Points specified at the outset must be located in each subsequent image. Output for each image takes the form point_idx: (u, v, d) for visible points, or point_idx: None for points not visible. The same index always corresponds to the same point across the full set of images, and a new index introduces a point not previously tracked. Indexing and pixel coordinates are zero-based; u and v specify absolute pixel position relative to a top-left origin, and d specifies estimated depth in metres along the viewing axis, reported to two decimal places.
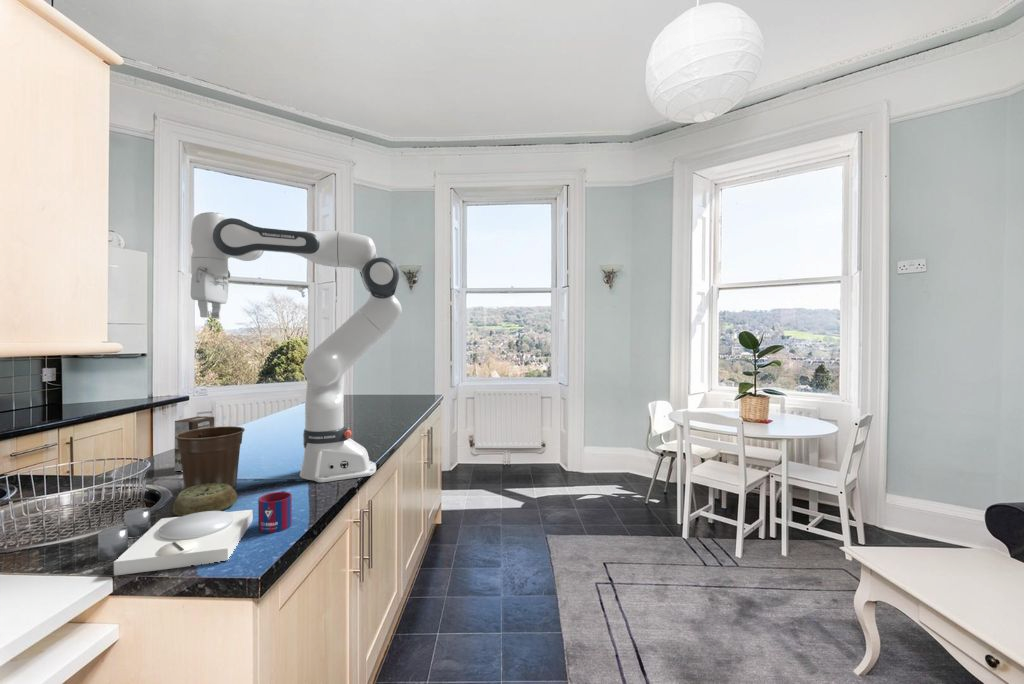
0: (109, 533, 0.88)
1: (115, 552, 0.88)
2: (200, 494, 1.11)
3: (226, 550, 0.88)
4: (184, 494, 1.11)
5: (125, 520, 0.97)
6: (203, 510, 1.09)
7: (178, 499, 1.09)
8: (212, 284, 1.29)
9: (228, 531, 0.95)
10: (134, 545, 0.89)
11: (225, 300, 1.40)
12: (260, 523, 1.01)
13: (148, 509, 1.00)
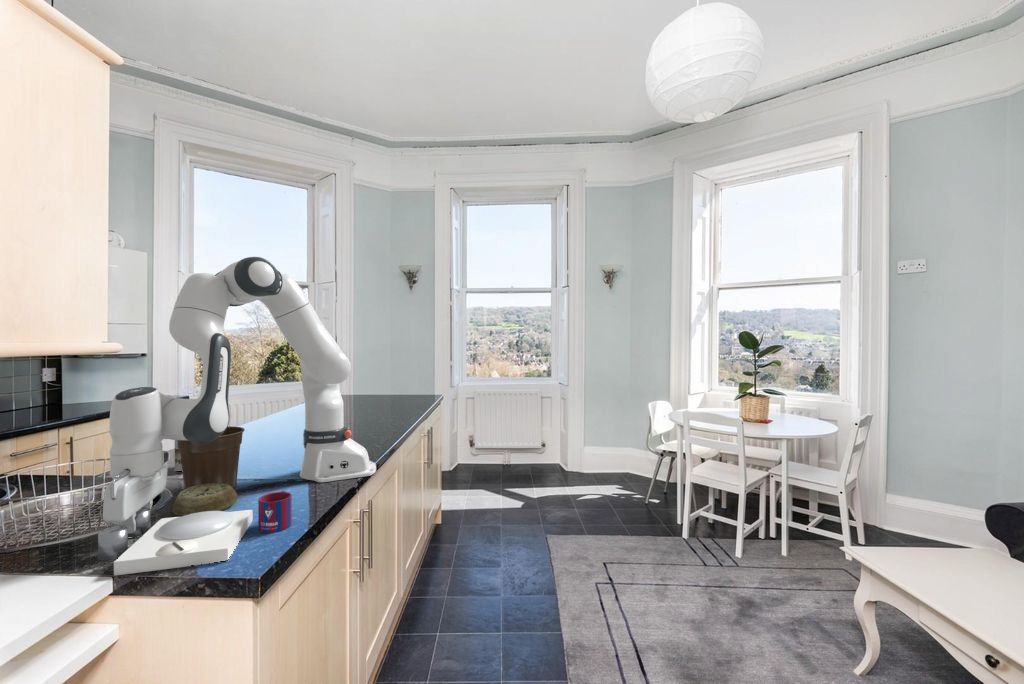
0: (109, 533, 0.88)
1: (115, 552, 0.88)
2: (200, 494, 1.11)
3: (226, 550, 0.88)
4: (184, 494, 1.11)
5: None
6: (203, 510, 1.09)
7: (178, 499, 1.09)
8: (138, 488, 0.96)
9: (228, 531, 0.95)
10: (134, 545, 0.89)
11: (163, 488, 1.07)
12: (260, 523, 1.01)
13: (148, 509, 1.00)
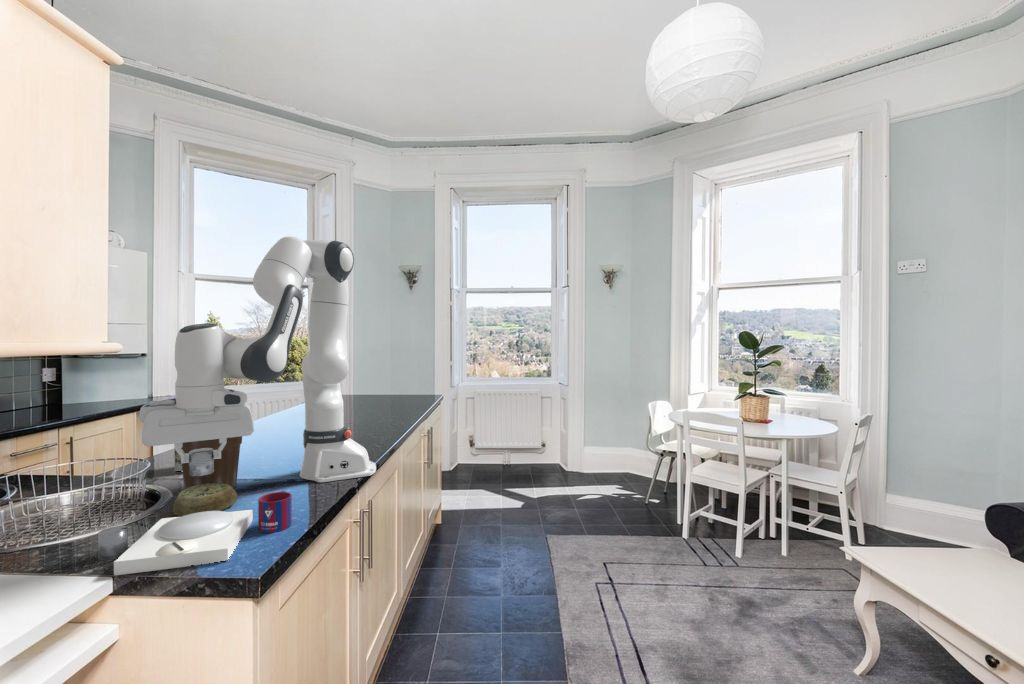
0: (109, 533, 0.88)
1: (115, 552, 0.88)
2: (200, 494, 1.11)
3: (226, 550, 0.88)
4: (184, 494, 1.11)
5: None
6: (203, 510, 1.09)
7: (178, 499, 1.09)
8: (182, 421, 0.97)
9: (228, 531, 0.95)
10: (134, 545, 0.89)
11: (243, 432, 1.03)
12: (260, 523, 1.01)
13: (204, 452, 0.99)
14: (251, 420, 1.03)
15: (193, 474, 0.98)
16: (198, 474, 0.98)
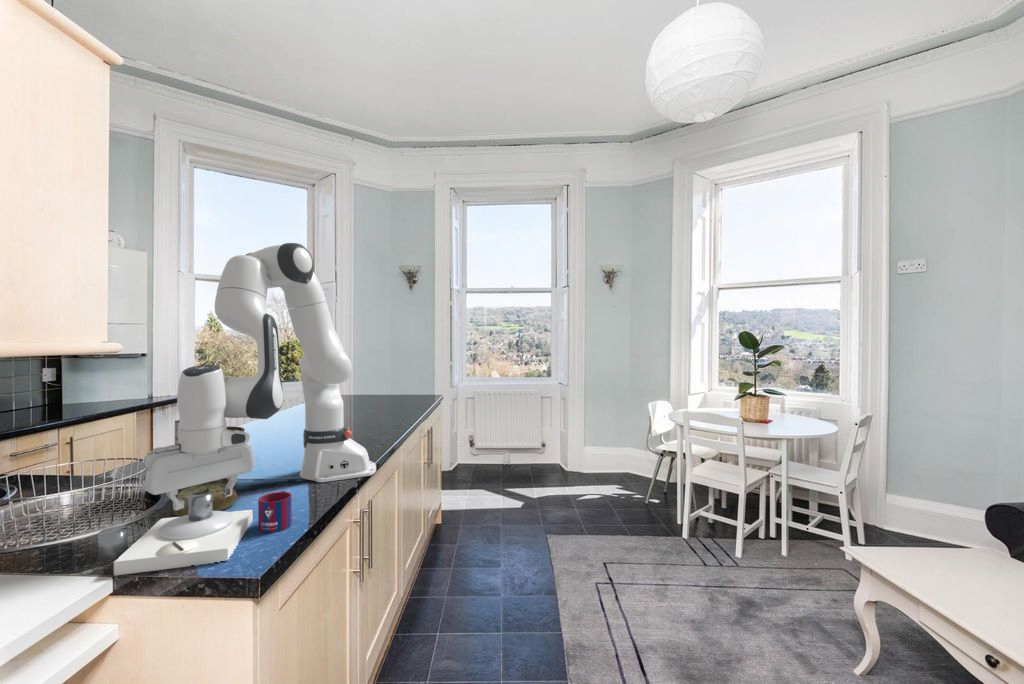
0: (109, 533, 0.88)
1: (115, 552, 0.88)
2: None
3: (226, 550, 0.88)
4: (184, 494, 1.11)
5: None
6: None
7: (178, 499, 1.09)
8: (189, 464, 0.97)
9: (228, 531, 0.95)
10: (134, 545, 0.89)
11: (245, 469, 1.06)
12: (260, 523, 1.01)
13: (207, 495, 1.00)
14: (253, 457, 1.07)
15: (196, 519, 0.98)
16: (202, 518, 0.99)
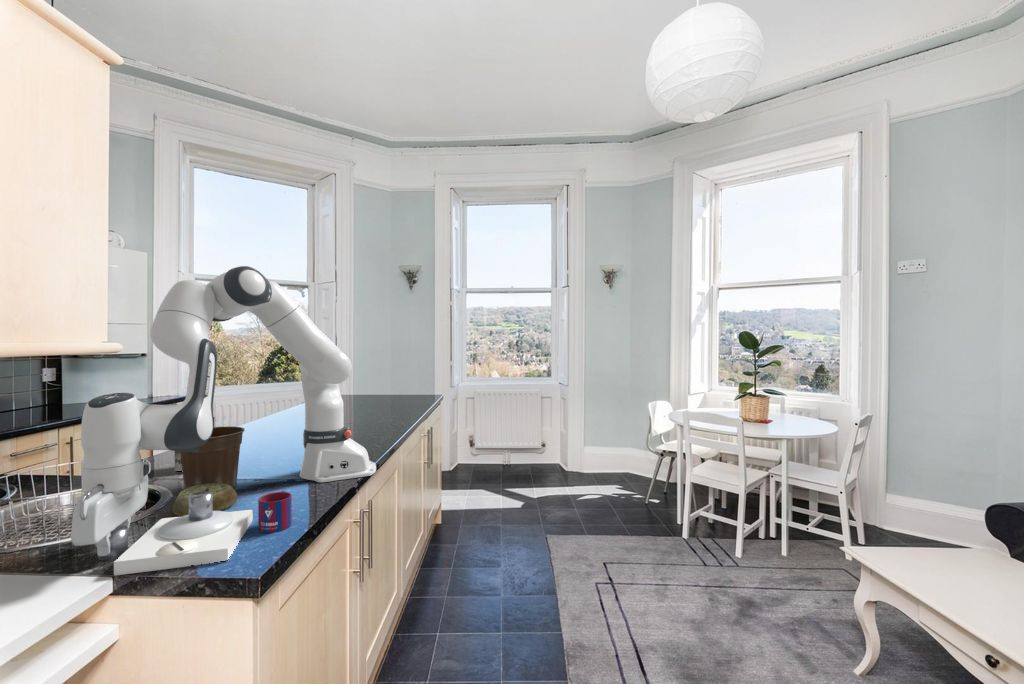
0: None
1: (115, 552, 0.88)
2: None
3: (226, 550, 0.88)
4: (184, 494, 1.11)
5: None
6: None
7: (178, 499, 1.09)
8: (113, 505, 0.87)
9: (228, 531, 0.95)
10: (134, 545, 0.89)
11: (143, 503, 0.98)
12: (260, 523, 1.01)
13: (207, 495, 1.00)
14: (147, 488, 0.99)
15: (196, 519, 0.98)
16: (202, 518, 0.99)
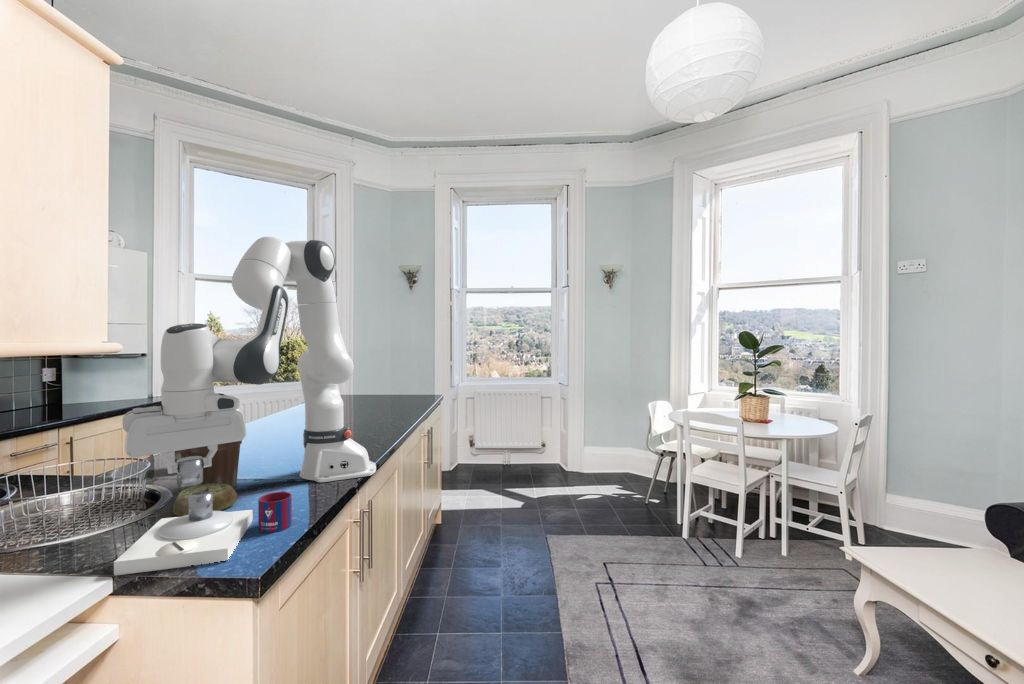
0: (181, 460, 0.93)
1: (180, 479, 0.92)
2: None
3: (226, 550, 0.88)
4: (184, 494, 1.11)
5: None
6: None
7: (178, 499, 1.09)
8: (171, 428, 0.90)
9: (228, 531, 0.95)
10: (134, 545, 0.89)
11: (236, 437, 0.98)
12: (260, 523, 1.01)
13: (207, 495, 1.00)
14: (244, 424, 0.99)
15: (196, 519, 0.98)
16: (202, 518, 0.99)
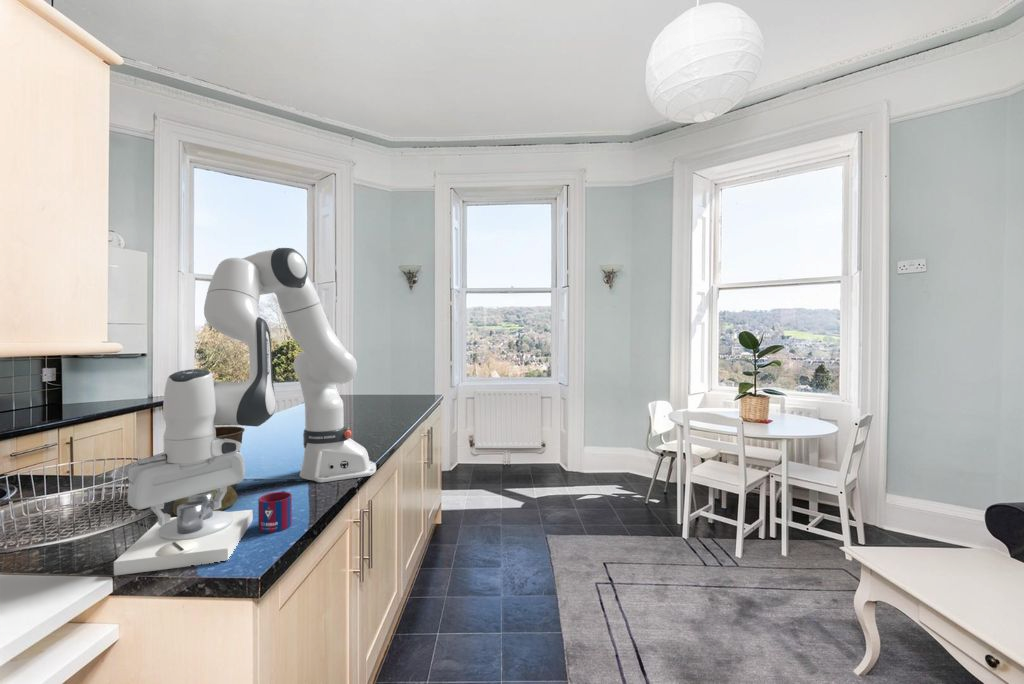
0: (182, 507, 0.93)
1: (182, 527, 0.92)
2: None
3: (226, 550, 0.88)
4: None
5: None
6: None
7: (178, 499, 1.09)
8: (176, 476, 0.90)
9: (228, 531, 0.95)
10: (134, 545, 0.89)
11: (235, 480, 1.00)
12: (260, 523, 1.01)
13: (207, 495, 1.00)
14: (243, 466, 1.01)
15: None
16: None
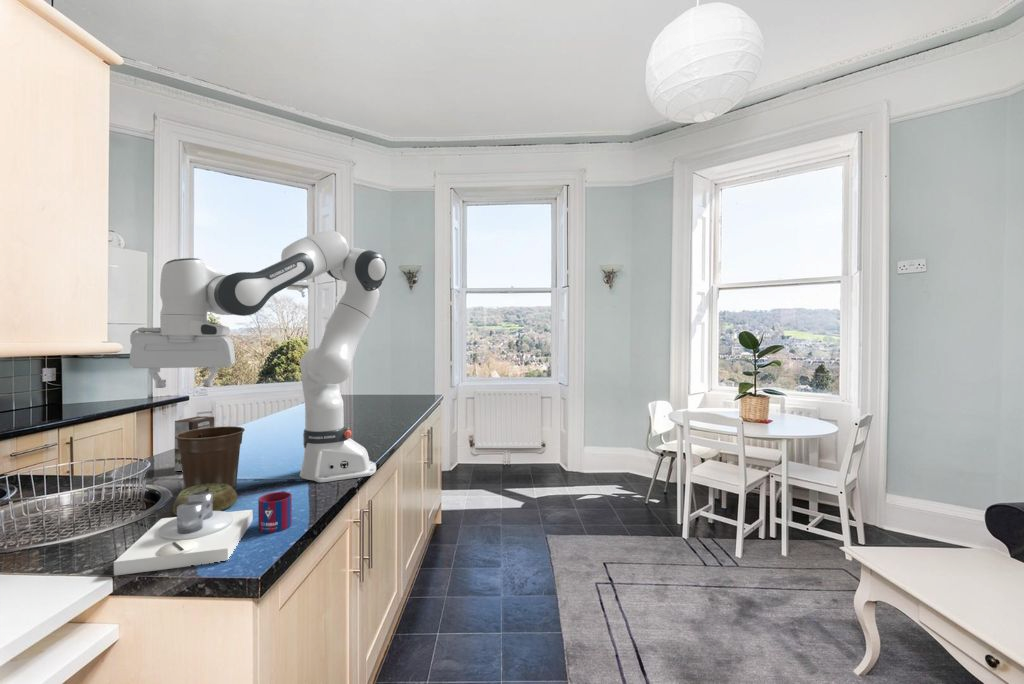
0: (182, 507, 0.93)
1: (182, 527, 0.92)
2: None
3: (226, 550, 0.88)
4: (184, 494, 1.11)
5: None
6: None
7: (178, 499, 1.09)
8: (165, 347, 1.04)
9: (228, 531, 0.95)
10: (134, 545, 0.89)
11: (221, 363, 1.07)
12: (260, 523, 1.01)
13: (207, 495, 1.00)
14: (228, 352, 1.07)
15: None
16: None
